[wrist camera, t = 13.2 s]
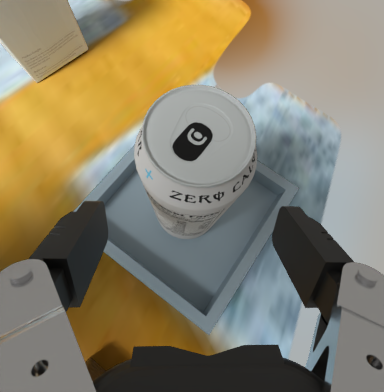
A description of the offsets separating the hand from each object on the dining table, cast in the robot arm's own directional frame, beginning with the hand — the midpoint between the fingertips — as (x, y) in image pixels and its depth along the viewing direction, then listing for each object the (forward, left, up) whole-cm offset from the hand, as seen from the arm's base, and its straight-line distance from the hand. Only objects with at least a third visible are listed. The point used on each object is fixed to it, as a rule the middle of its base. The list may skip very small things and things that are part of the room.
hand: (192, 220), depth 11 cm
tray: (-2, +3, -14) cm, 14 cm away
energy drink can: (-2, +3, -13) cm, 14 cm away
